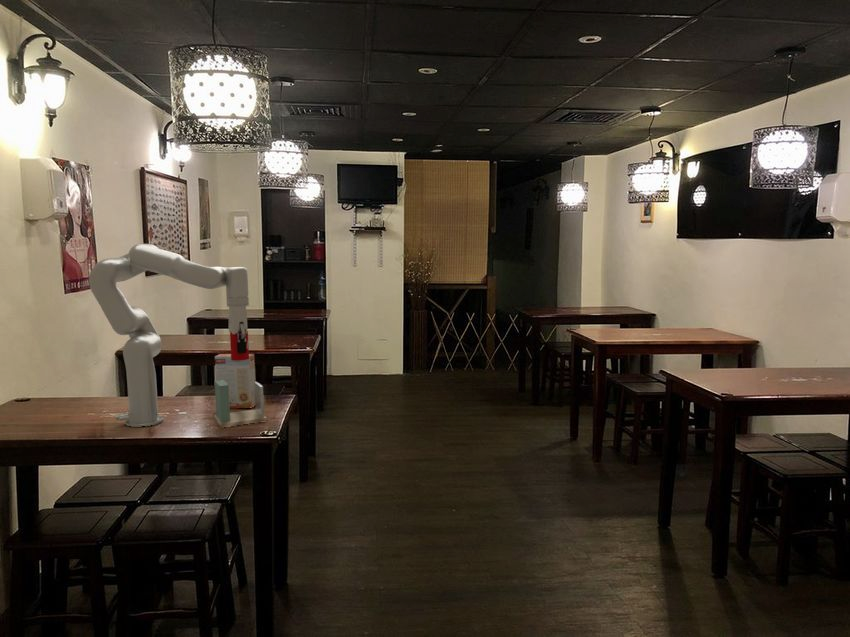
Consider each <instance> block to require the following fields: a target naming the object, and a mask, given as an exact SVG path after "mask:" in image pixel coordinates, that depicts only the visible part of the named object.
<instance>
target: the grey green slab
mask: <svg viewBox="0 0 850 637" xmlns="http://www.w3.org/2000/svg"><path fill="white" fill-rule="evenodd" d="M214 394H215V414H216V416H217V417H218V419H219V420H220V421H221V422H228V421H230V413H231V408H230V405H229V385H228V384H227V383H226V382H225V381H224V380H217V381H216V380H214Z"/></svg>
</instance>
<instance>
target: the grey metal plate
mask: <svg viewBox="0 0 850 637" xmlns="http://www.w3.org/2000/svg"><path fill="white" fill-rule="evenodd" d="M254 386H255V407H254V410H256V412H257V413H258V414H259V415H260V416H261V417H263V416H264V415H265V406H264V405H265V404H264V386H263V385H262V384H261V383H259V382H258V381H255V382H254Z"/></svg>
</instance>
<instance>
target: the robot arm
mask: <svg viewBox="0 0 850 637" xmlns="http://www.w3.org/2000/svg"><path fill="white" fill-rule="evenodd" d="M145 272H152V273H155V274H159V275H163V276H166V277H169V278H172V279H175V280H178V281H181V282H183V283H186V284H189V285H192V286H195V287H196V286H197V287H198V288H203V289H207V290H215V289H218V288H221V287H225V291H226V292H225V294H226V295H225V296H226V307H228V332H229V333H230V331H231V332H232V334H234V335H235V334H236V333H237V341H238V342H237V353H238V354H240V353H246V352H247V349H246V336H245V334H246V333H247V331H248V316H247V315H248V314H247V313H248V312H247V307H249V306H250V303H249V302H250V299H249V279H248V278H249V276H248V268H246V267H243V266H232V267H231V266H230V267H223V266H207V265H202V264H199V263H196V262H194V261H193V262H192V261H190V260H188V259H186V258H184V257H183V256H182V255H181V254H179V253H176V252H173V251H169V250H165V249H162V248H159V247H157V246H156V245H154V244H152V243H138V244H137V243H136V244H134V246H132V247H130V249H129V251H128V253H126V254H124V255H122V256H119V257H113V258H112V257H111V258H109V257H108V258H105V259H102V260H100V261H98V262H97V263H96V264H94V265H93V267H92V269H91V270H90V273H89V277H88V285H89V289H90V291H91V293H92V294H93V296H94V297H95V300H96V301H97V303H98V305H99V306H100V308H101V310H102V312H103V314H104V316H105V318H106V319H107V322H109V324H110V326H111V328H112V329H113V331H114V332H115V333H116V334H117V335H119V336H129V338H128V339H127V341H126V342H125V343H124V346H123V349H122V356H123V360H124V365H125V370H126V382H127V383H126V384H127V398H128V410H127V412H124V413H123V414H121V413H119V414H115V416H114V417H115V418H114V419H115V421H124V424H126V425H127V427H129V426H131V428H142V426H145V427H151V425H152V426H155V425H159V424H161V423H162V422H163V421H164V417H163V416H162V415H159V404H158V388H157V373H156V368H155V367H156V366H155V362H154V357H155V358H156V356H158V355H159V354H160V353H161V350H162V348H163V342H162V339H161V337H160V335H159V333H158V330H156V327H155V326H154V324H153V322H152V321H151V319H150V317H149V315H148V314H147V313H146V312H145V311H144V310H143V309H142V308H140V307H138V306H131V305H130V303H129V302H128V300H127V299H126V296H125V295H124V293H123V292H122V291H121V290H120V289H119V287H118V285H117V283H118V282H119V283H121V282H126V281H129V280H130V279H133V278H135V277H137V276H139V275H141V274H142V273H145ZM245 330H246V331H245ZM238 332H241V333H238ZM245 332H246V333H245ZM239 337H240V338H239Z"/></svg>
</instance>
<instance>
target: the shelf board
mask: <svg viewBox="0 0 850 637" xmlns="http://www.w3.org/2000/svg"><path fill="white" fill-rule="evenodd" d="M213 419H214V420H216V421H217V422H216V421H215V422H216V423H217V424H218V426H219V425H220V426H219V427H220V429H225V428H224V427H226V428H232V427H231V426H234V427H238V426H237V425H241V426H244V425H243V424H248V425H250V424H249V423H255V422H261V421H267V422H268V417H267V416H266V415H265V414H264V416H263V417H261V416H260V415H259V414H258V413H257V412H256V410H255V409H246V410H240V411H239V410H238V411H234V412H232V411H230V421H228V422H221V421H220V420H219V419H218V417H217V416H216V413H215V414H213ZM255 424H256V423H255Z"/></svg>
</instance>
